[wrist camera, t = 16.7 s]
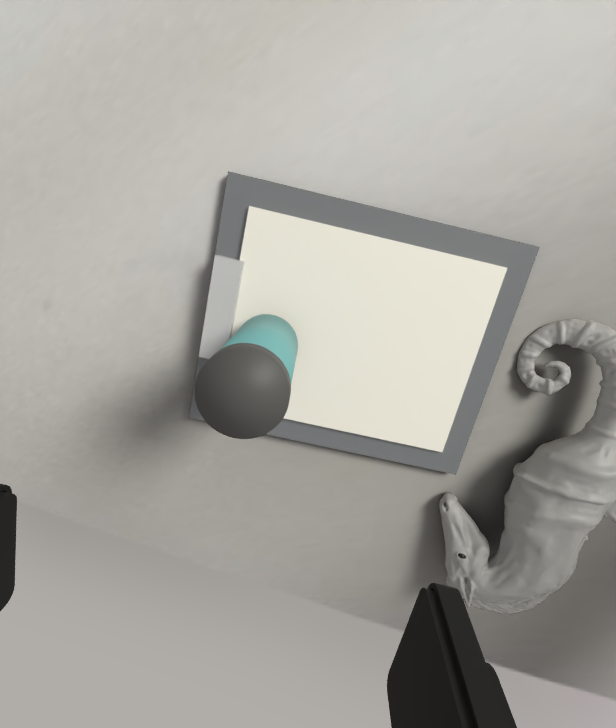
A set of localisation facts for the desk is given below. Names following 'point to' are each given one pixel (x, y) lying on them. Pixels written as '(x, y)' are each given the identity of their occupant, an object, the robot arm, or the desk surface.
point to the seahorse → (542, 490)
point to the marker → (249, 379)
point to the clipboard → (367, 317)
